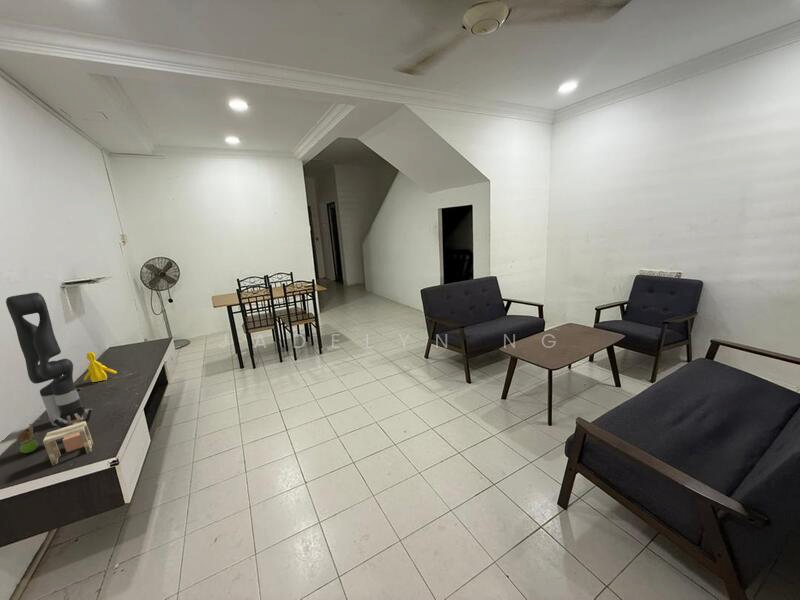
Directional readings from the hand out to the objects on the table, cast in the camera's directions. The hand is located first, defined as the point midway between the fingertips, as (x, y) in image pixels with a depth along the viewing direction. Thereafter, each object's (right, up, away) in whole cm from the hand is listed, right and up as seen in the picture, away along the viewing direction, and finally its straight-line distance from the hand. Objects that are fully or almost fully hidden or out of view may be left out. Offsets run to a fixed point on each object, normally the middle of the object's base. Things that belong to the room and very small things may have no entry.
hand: (79, 432), depth 153 cm
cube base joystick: (+4, -2, -4) cm, 6 cm away
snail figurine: (-12, -5, -9) cm, 16 cm away
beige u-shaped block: (+12, -4, -14) cm, 18 cm away
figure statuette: (-48, +9, +61) cm, 78 cm away
